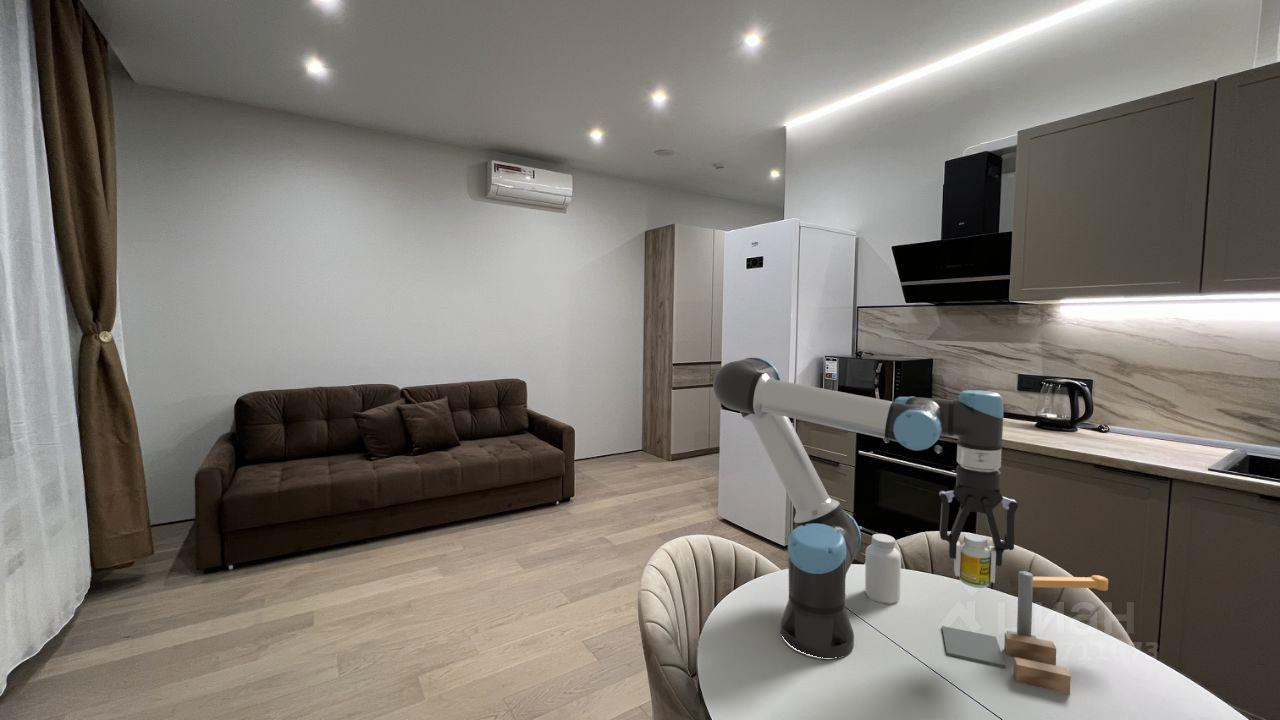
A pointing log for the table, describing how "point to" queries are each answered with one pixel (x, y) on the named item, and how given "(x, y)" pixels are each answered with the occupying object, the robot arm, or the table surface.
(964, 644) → the mat
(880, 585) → the pill bottle
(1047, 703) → the table surface
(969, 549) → the supplement bottle
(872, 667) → the table surface
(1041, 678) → the wooden block set
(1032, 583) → the grey orange l-shaped piece
